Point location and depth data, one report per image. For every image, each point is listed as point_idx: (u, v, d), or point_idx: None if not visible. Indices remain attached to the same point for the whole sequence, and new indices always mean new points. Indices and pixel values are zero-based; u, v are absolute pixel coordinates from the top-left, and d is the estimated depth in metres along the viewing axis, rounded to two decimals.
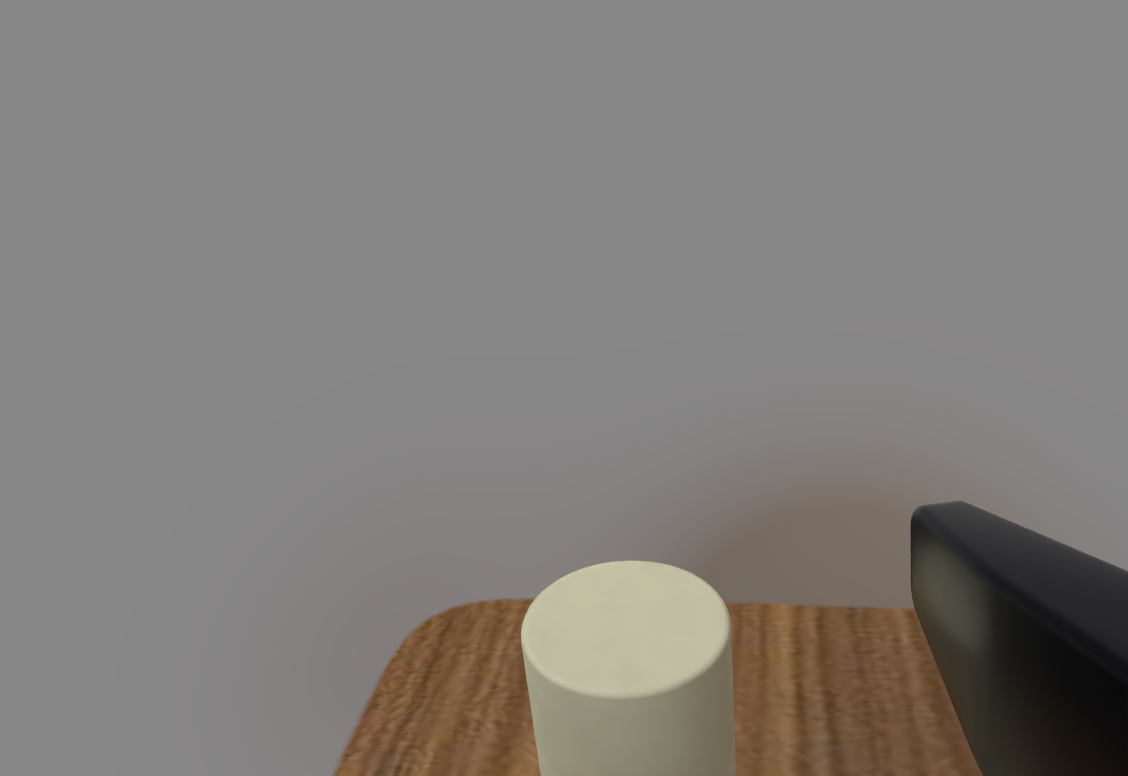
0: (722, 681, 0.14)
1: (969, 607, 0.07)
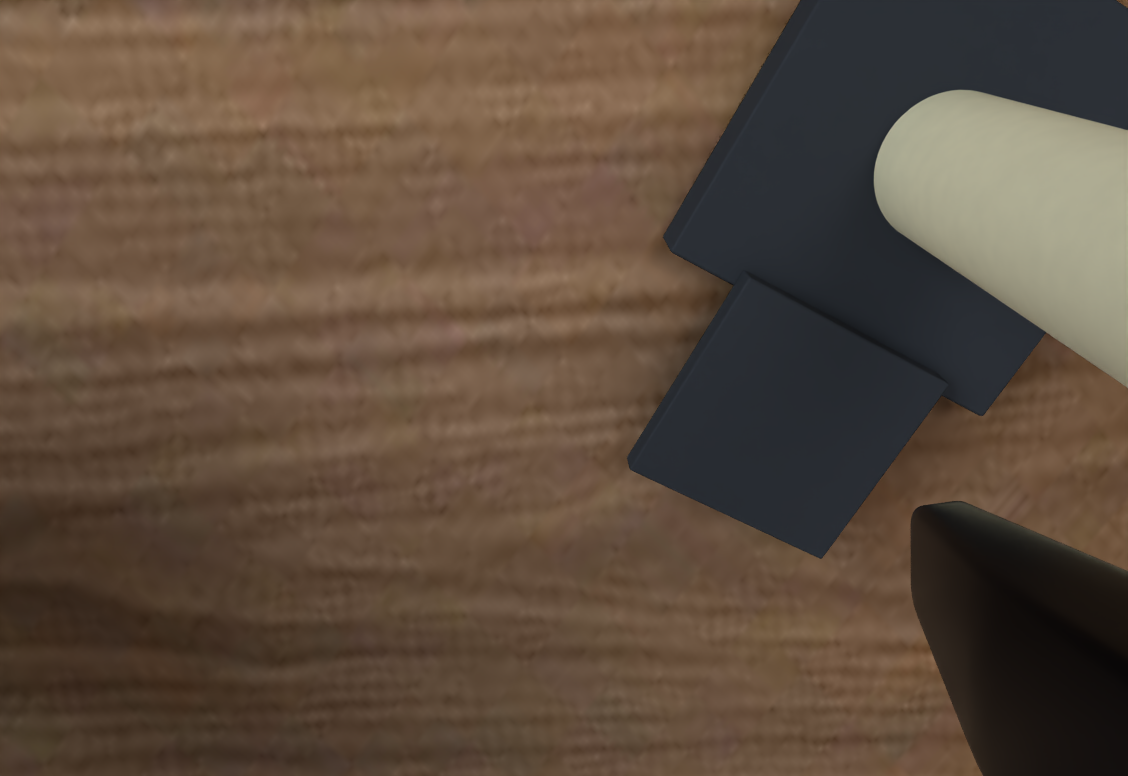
0: None
1: (969, 607, 0.07)
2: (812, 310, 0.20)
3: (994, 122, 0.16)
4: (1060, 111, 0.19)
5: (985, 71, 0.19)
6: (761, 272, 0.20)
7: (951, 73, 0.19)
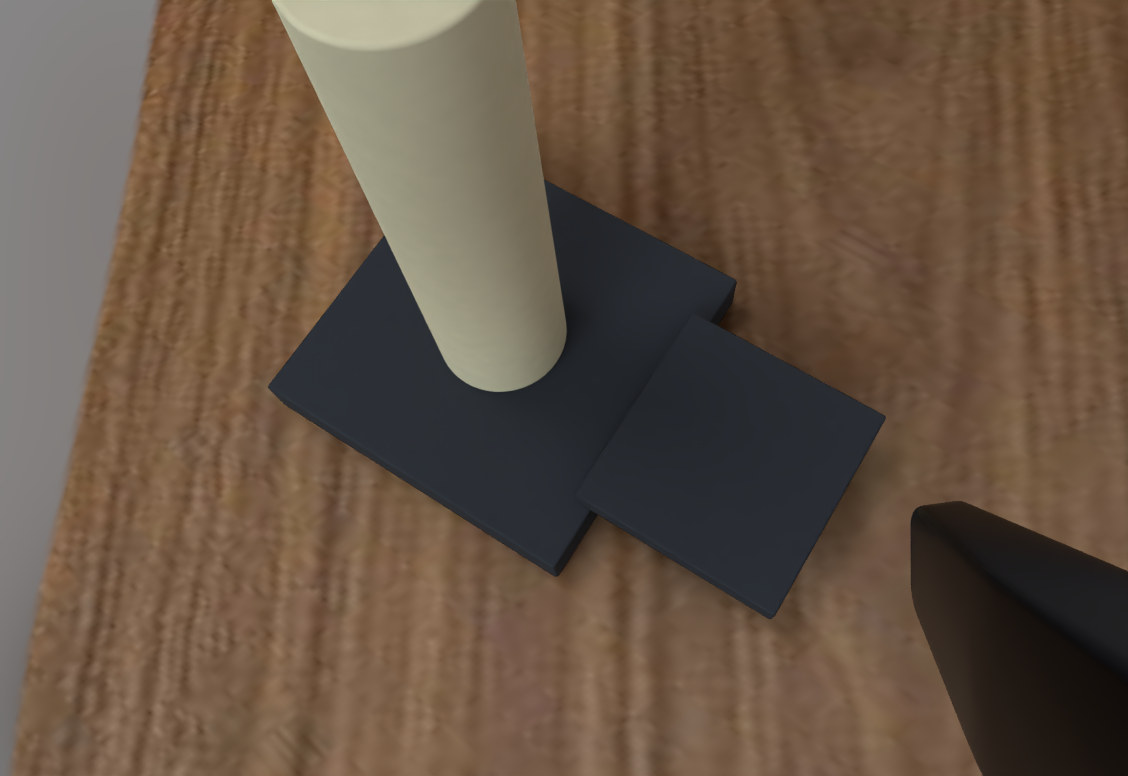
0: (499, 10, 0.12)
1: (969, 607, 0.07)
2: (612, 437, 0.21)
3: (416, 301, 0.20)
4: None
5: None
6: (580, 484, 0.22)
7: (426, 337, 0.23)
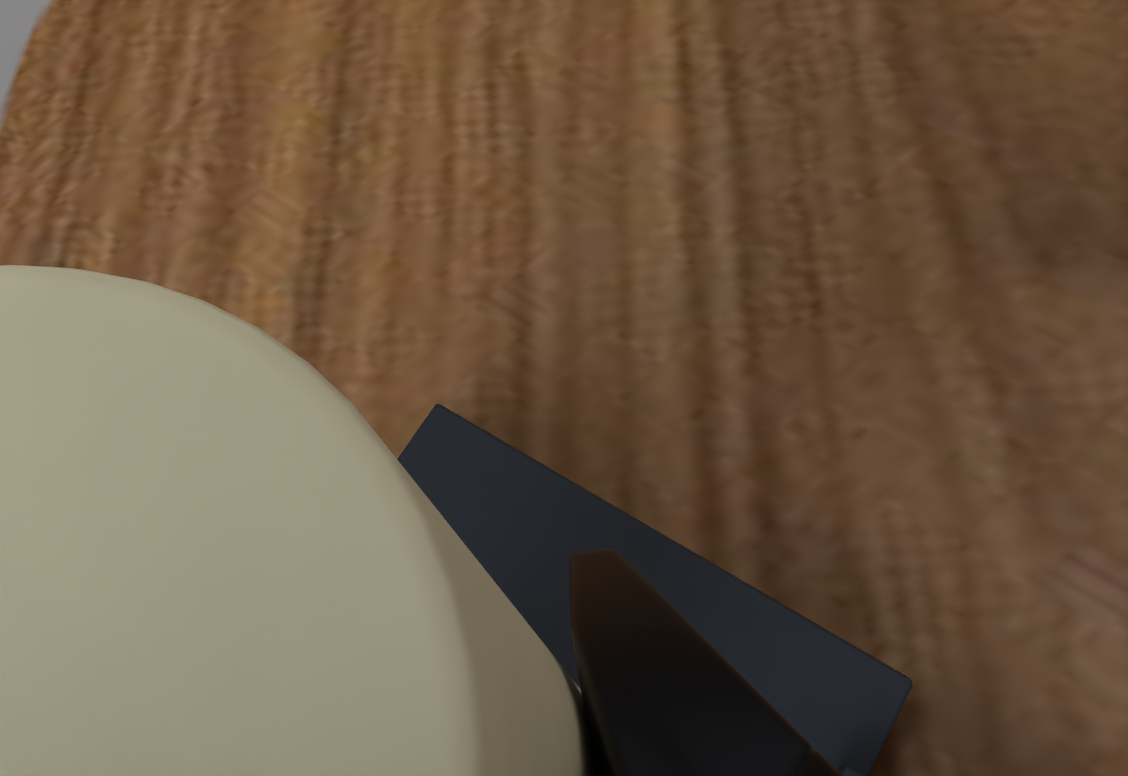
0: None
1: None
2: None
3: None
4: None
5: None
6: None
7: None
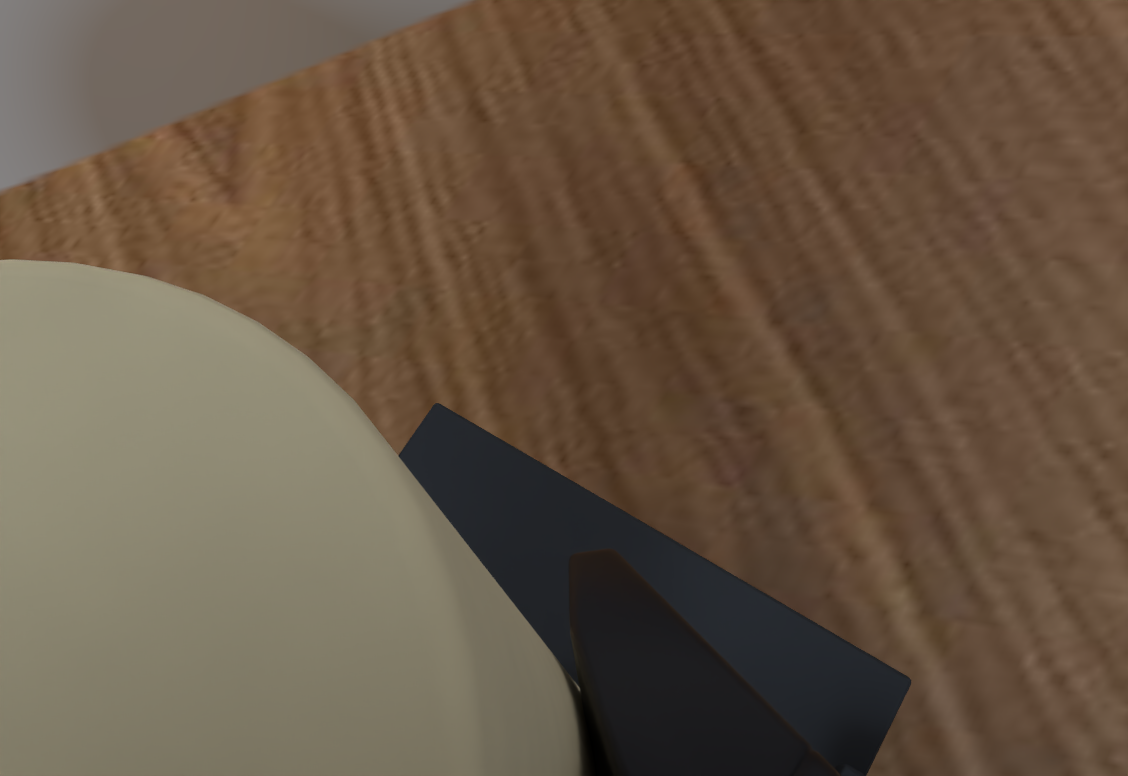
0: None
1: None
2: None
3: None
4: None
5: None
6: None
7: None
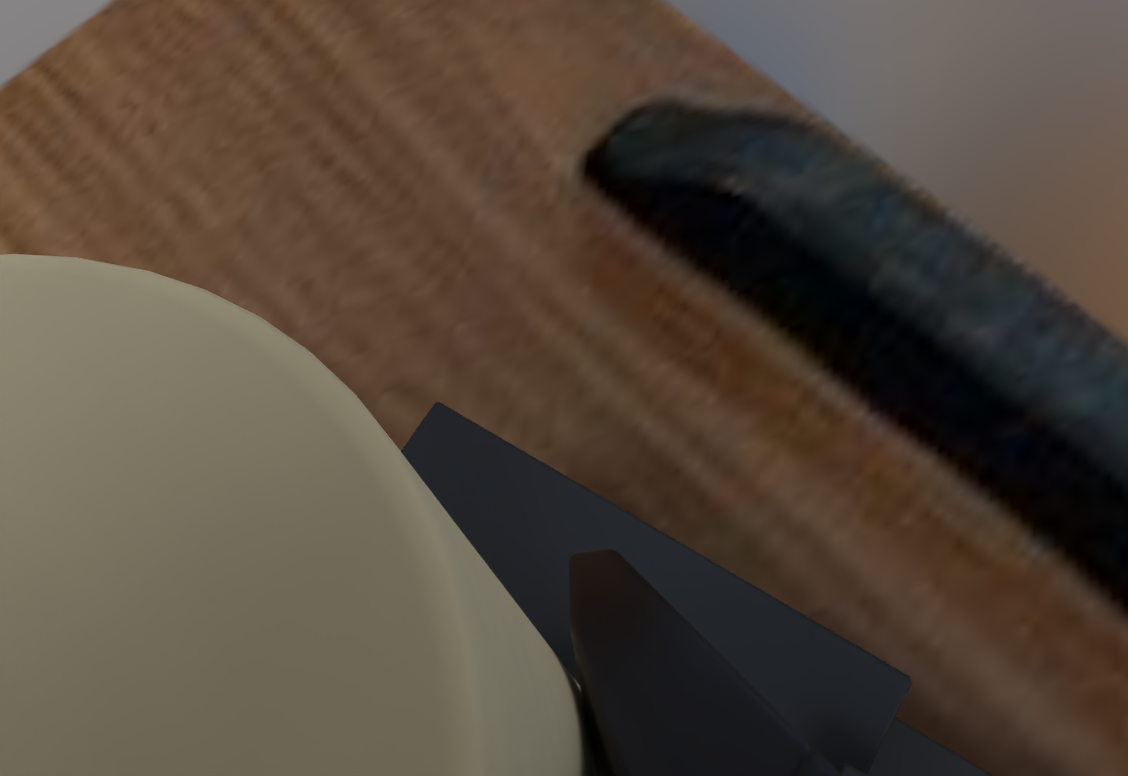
0: None
1: None
2: None
3: None
4: None
5: None
6: None
7: None
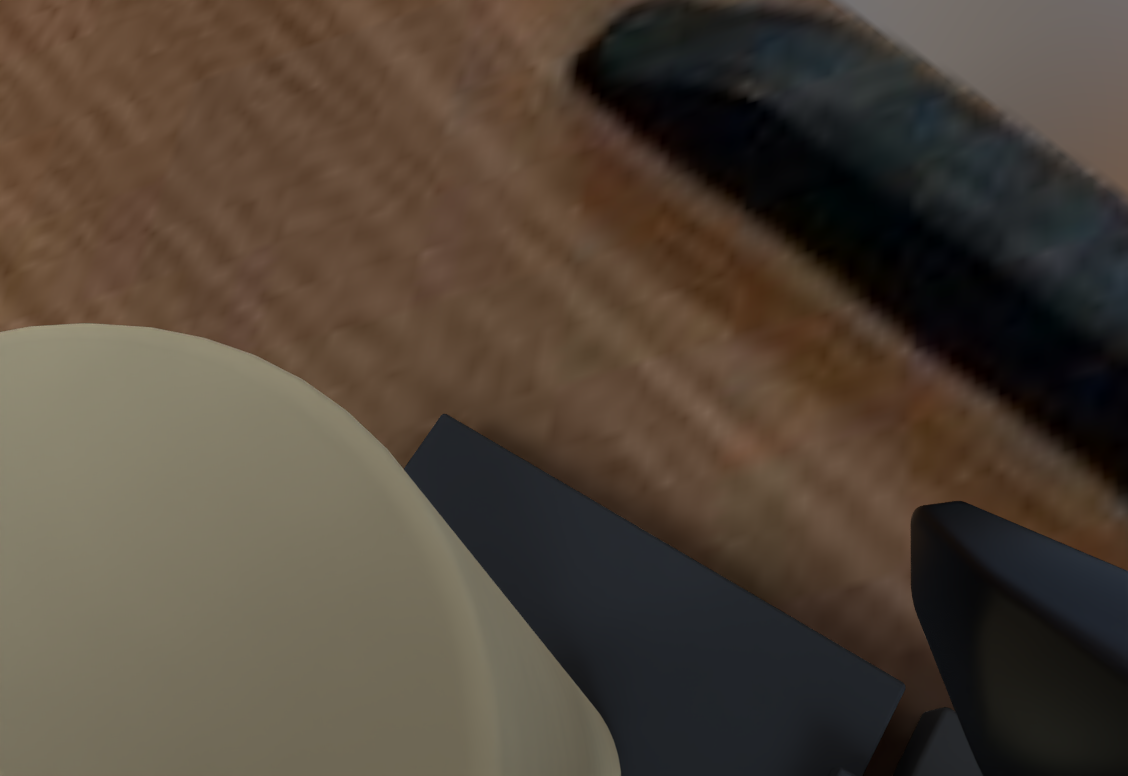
0: None
1: (969, 607, 0.07)
2: None
3: None
4: None
5: None
6: None
7: None
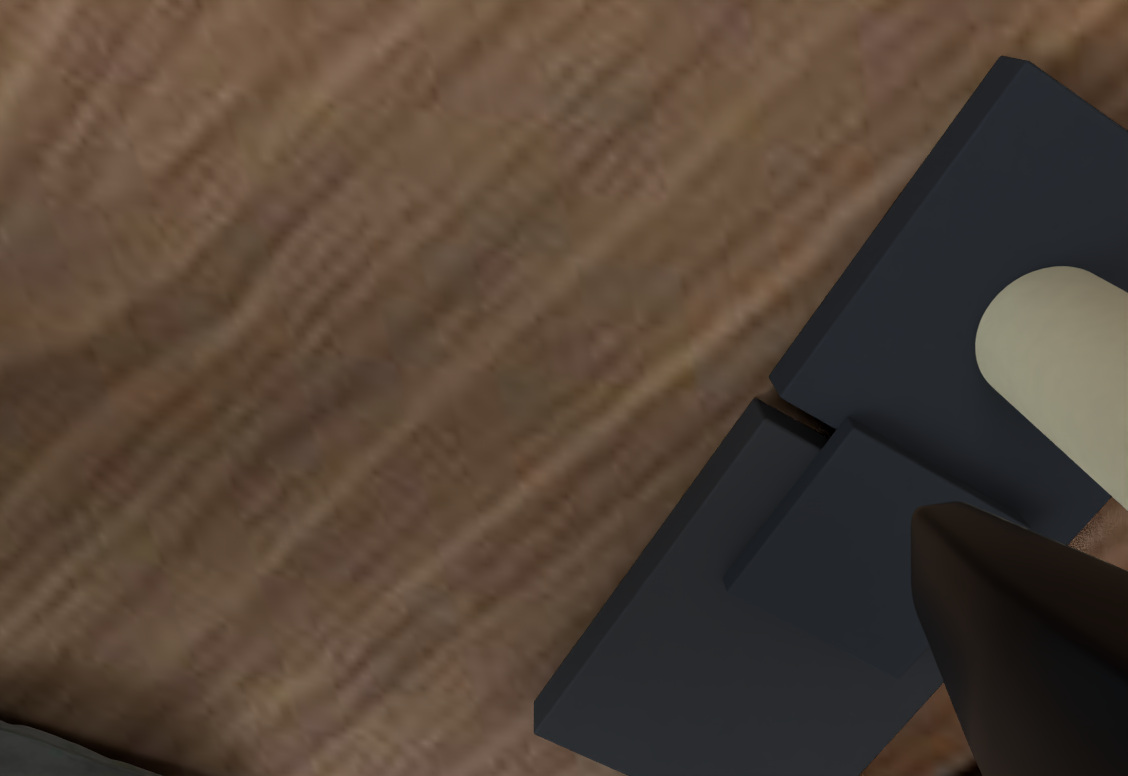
0: None
1: (969, 607, 0.07)
2: (909, 458, 0.21)
3: (1107, 323, 0.17)
4: None
5: (1087, 250, 0.20)
6: (862, 419, 0.21)
7: (1055, 250, 0.20)
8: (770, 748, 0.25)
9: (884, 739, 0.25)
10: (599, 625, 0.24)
